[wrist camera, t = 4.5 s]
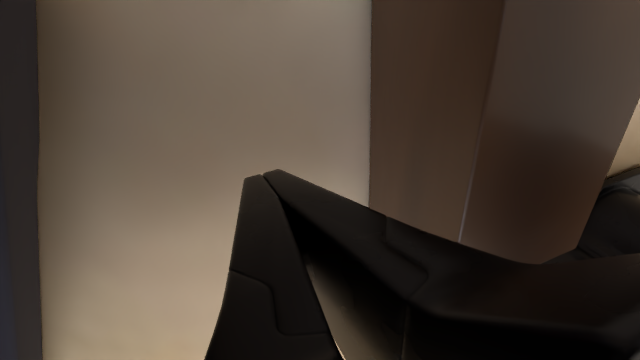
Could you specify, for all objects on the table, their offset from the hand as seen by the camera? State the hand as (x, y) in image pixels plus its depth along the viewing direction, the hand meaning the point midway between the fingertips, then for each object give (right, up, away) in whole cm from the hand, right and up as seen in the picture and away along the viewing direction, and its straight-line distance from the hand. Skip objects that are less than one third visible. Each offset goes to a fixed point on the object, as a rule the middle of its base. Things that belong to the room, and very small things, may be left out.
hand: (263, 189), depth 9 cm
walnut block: (+5, +3, +4) cm, 7 cm away
